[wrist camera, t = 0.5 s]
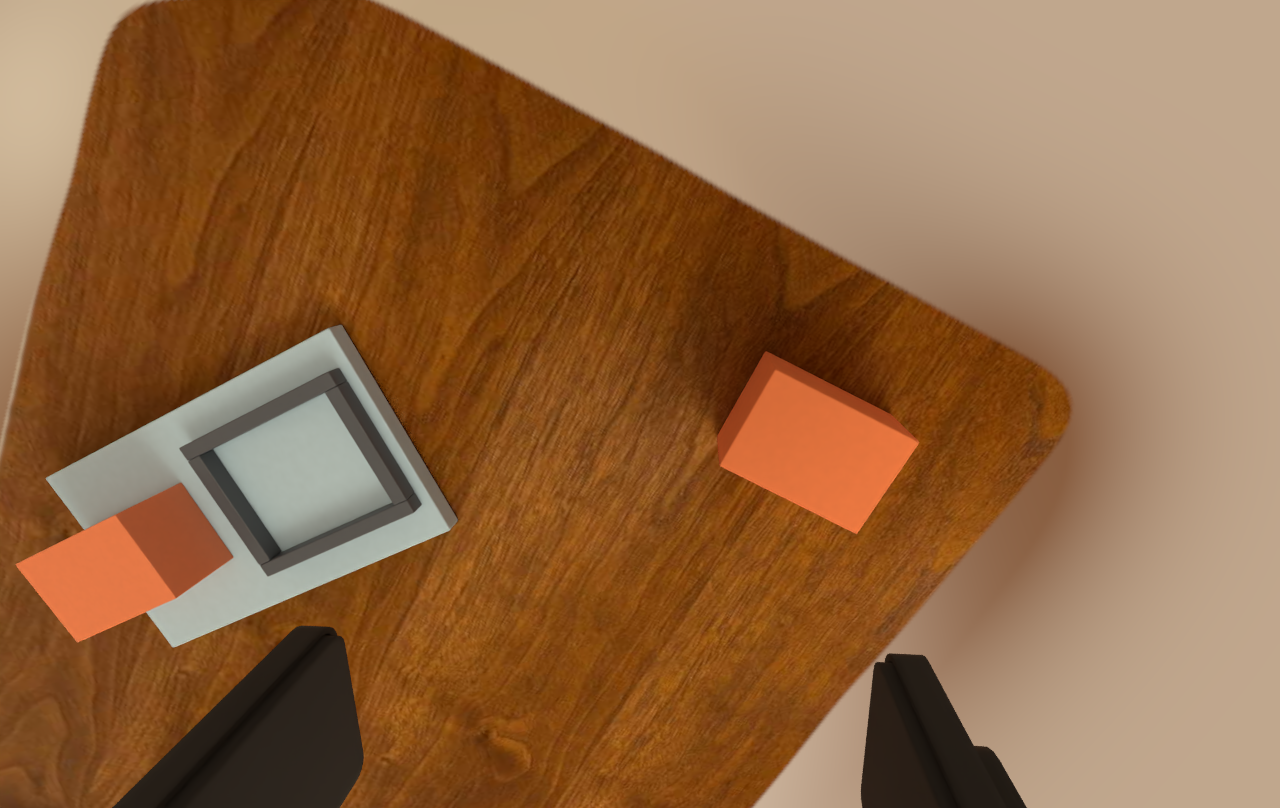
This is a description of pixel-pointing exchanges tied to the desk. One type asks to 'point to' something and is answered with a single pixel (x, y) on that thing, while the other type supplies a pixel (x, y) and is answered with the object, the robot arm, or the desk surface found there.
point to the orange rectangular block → (813, 443)
